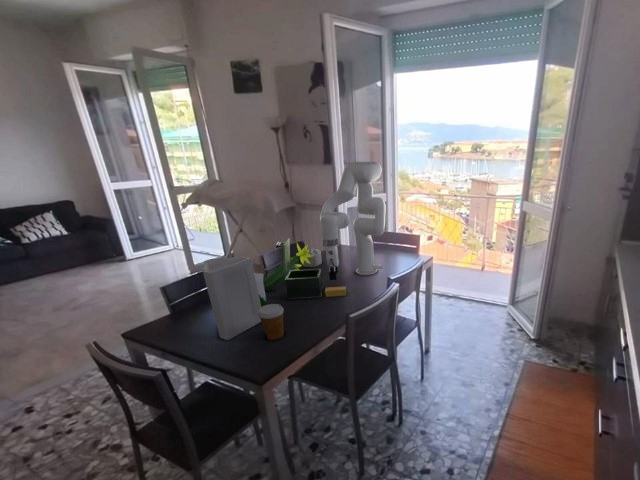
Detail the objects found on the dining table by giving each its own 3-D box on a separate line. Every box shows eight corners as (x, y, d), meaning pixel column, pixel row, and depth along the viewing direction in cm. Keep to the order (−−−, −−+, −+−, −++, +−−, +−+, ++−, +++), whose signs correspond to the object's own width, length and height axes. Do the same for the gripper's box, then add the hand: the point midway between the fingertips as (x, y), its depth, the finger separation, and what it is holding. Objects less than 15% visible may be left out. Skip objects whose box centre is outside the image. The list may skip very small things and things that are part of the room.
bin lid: (289, 237, 173) (279, 237, 172) (284, 244, 161) (273, 244, 161) (290, 269, 179) (280, 269, 179) (285, 278, 168) (275, 277, 167)
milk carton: (243, 316, 158) (233, 274, 149) (257, 307, 165) (248, 267, 157) (259, 318, 155) (250, 276, 147) (272, 310, 163) (265, 268, 154)
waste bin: (323, 288, 185) (320, 268, 181) (320, 298, 174) (318, 277, 170) (292, 290, 184) (289, 270, 180) (288, 300, 173) (285, 279, 168)
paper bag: (240, 313, 160) (226, 253, 149) (264, 319, 154) (252, 257, 143) (202, 332, 145) (184, 267, 133) (227, 340, 139) (210, 272, 127)
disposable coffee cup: (266, 330, 145) (261, 304, 140) (289, 329, 146) (285, 302, 141) (260, 342, 137) (254, 314, 132) (285, 341, 137) (280, 313, 132)
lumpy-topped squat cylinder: (300, 265, 219) (298, 252, 215) (311, 259, 230) (309, 246, 227) (315, 267, 216) (313, 253, 212) (325, 260, 227) (324, 247, 224)
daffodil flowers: (252, 288, 189) (294, 254, 212) (274, 304, 188) (314, 268, 211) (253, 269, 176) (298, 235, 199) (277, 285, 175) (319, 249, 198)
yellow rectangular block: (346, 292, 180) (345, 286, 179) (346, 295, 176) (345, 289, 175) (326, 293, 179) (325, 287, 178) (325, 296, 175) (325, 290, 174)
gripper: (337, 246, 159) (340, 282, 166) (339, 237, 175) (342, 270, 182) (320, 247, 158) (324, 283, 165) (324, 237, 174) (327, 271, 181)
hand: (333, 276), depth 173 cm, fingers open, 9 cm apart
